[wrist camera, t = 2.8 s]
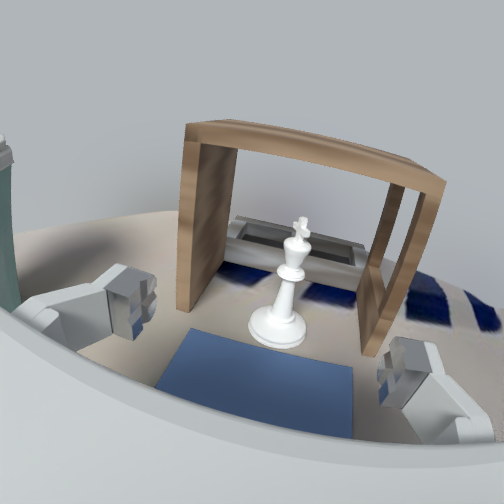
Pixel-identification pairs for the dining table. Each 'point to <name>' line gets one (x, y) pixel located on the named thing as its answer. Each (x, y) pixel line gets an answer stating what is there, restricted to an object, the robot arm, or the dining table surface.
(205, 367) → the mat
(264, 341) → the chess piece
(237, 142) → the tunnel
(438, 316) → the dining table surface
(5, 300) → the disposable coffee cup
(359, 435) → the dining table surface
